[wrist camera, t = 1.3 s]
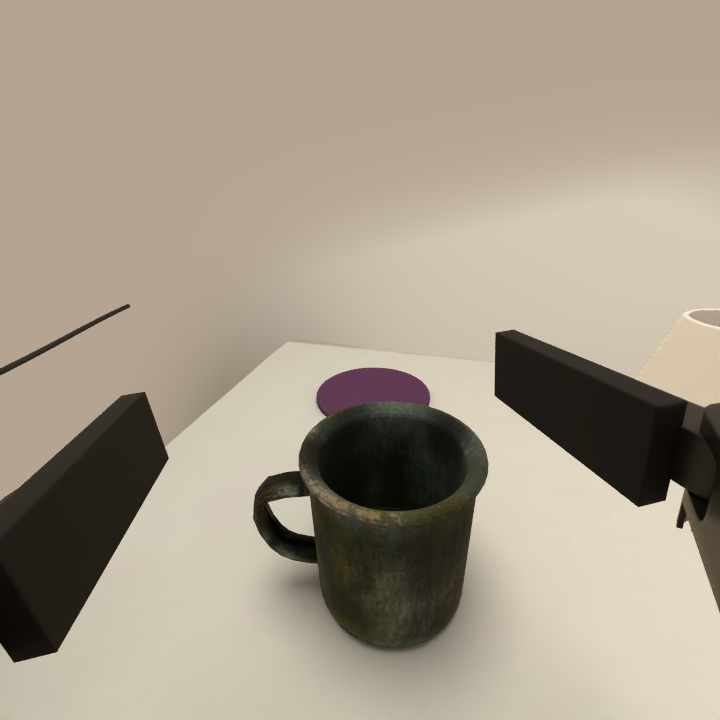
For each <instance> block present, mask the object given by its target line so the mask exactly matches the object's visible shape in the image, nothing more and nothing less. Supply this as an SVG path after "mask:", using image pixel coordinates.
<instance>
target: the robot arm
mask: <svg viewBox="0 0 720 720" xmlns="http://www.w3.org/2000/svg"><path fill="white" fill-rule="evenodd" d="M129 307H130V305H129V304H127V305H125V306H122V307H120V308H118V309H116V310H114V311H112V312H110V313H108V314H106V315H103V316H101V317H99V318H97V319H95V320H94V321H92V322H90V323H88V324H86V325H84V326H82V327H80V328H78V329H76V330H74V331H73V332H71V333H69V334H67V335H65V336H63V337H61V338H59V339H57V340H56V341H54V342H52V343H50V344H48V345H46V346H44V347H42V348H40V349H38V350H36V351H34V352H33V353H30V354H29V355H26V356H25V357H23V358H21V359H19V360H17V361H15V362H12V363H10V364H8V365H6V366H4V367H3V368H0V375H2V374H4V373H6V372H8V371H10V370H11V369H14V368H16V367H18V366H20V365H22V364H23V363H26V362H27V361H29V360H31V359H33V358H35V357H36V356H39V355H41V354H42V353H44V352H46V351H48V350H50V349H52V348H54V347H55V346H57V345H59V344H61V343H63V342H64V341H66V340H68V339H70V338H72V337H74V336H75V335H77V334H79V333H81V332H83V331H84V330H86V329H88V328H90V327H92V326H94V325H95V324H97V323H99V322H101V321H103V320H105V319H107V318H109V317H111V316H113V315H115V314H117V313H119V312H121V311H123V310H125V309H127V308H129ZM495 344H496V345H495V396H496V397H497V398H498V399H500V400H501V401H502V402H504V403H505V404H506V405H507V406H509V407H510V408H511V409H513V410H514V411H515V412H516V413H518V414H519V415H520V416H522V417H523V418H524V419H526V420H527V421H528V422H529V423H531V424H532V425H533V426H535V427H536V428H537V429H538V430H540V431H541V432H542V433H544V434H545V435H546V436H547V437H549V438H550V439H551V440H553V441H554V442H555V443H556V444H558V445H559V446H560V447H562V448H563V449H564V450H565V451H567V452H568V453H569V454H571V455H572V456H573V457H574V458H576V459H577V460H578V461H580V462H581V463H582V464H584V465H585V466H586V467H587V468H589V469H590V470H591V471H593V472H594V473H595V474H596V475H598V476H599V477H600V478H602V479H603V480H604V481H605V482H607V483H608V484H609V485H611V486H612V487H613V488H614V489H616V490H617V491H618V492H620V493H621V494H622V495H623V496H625V497H626V498H627V499H629V500H630V501H631V502H632V503H634V504H635V505H636V506H638V507H641V506H645V505H649V504H653V503H657V502H661V501H665V500H666V496H667V492H668V487H669V483H670V479H671V480H673V481H674V482H676V483H678V484H679V485H681V486H682V487H684V488H685V490H684V494H683V498H682V502H681V506H680V510H679V514H678V518H677V524H676V527H677V528H681V529H682V528H683V524H684V522H686V521H688V520H689V523H690V526H691V531H692V532H693V535H694V538H695V541H696V544H697V547H698V550H699V553H700V556H701V559H702V562H703V564H704V567H705V570H706V573H707V576H708V579H709V582H710V585H711V588H712V591H713V594H714V597H715V600H716V603H717V606H718V609H719V612H720V403H715V404H710V405H708V406H706V407H705V408H704V407H702V406H699V405H697V404H694V403H692V402H690V401H687V400H685V399H682V398H680V397H677V396H675V395H672V394H670V393H667V392H665V391H663V390H660V389H658V388H655V387H653V386H650V385H648V384H645V383H643V382H641V381H638V380H636V379H633V378H631V377H628V376H626V375H623V374H621V373H618V372H616V371H613V370H611V369H609V368H606V367H604V366H601V365H599V364H596V363H594V362H591V361H589V360H586V359H584V358H582V357H579V356H577V355H574V354H572V353H569V352H567V351H564V350H562V349H559V348H557V347H555V346H552V345H550V344H547V343H545V342H542V341H540V340H537V339H535V338H533V337H530V336H528V335H525V334H523V333H520V332H518V331H516V330H509V331H503V332H497V333H496V343H495ZM168 459H169V458H168V455H167V452H166V449H165V446H164V444H163V441H162V438H161V435H160V432H159V430H158V427H157V424H156V421H155V418H154V416H153V413H152V410H151V408H150V405H149V402H148V399H147V396H146V394H145V392H141V393H135V394H129V395H124V396H121V397H120V398H119V399H117V400H116V401H115V402H114V403H113V404H112V405H111V406H110V407H108V408H107V409H106V410H105V411H104V412H103V413H102V414H101V415H100V416H98V418H96V419H95V420H94V421H93V422H92V423H91V424H90V425H89V426H88V427H86V428H85V429H84V430H83V431H82V432H81V433H80V434H78V436H76V437H75V438H74V439H73V440H72V441H71V442H70V443H68V444H67V445H66V446H65V447H64V448H63V449H62V450H61V451H60V452H58V453H57V454H56V455H55V456H54V457H53V458H52V459H51V460H50V461H48V462H47V463H46V464H45V465H44V466H43V467H42V468H41V469H39V470H38V471H37V472H36V473H35V474H34V475H33V476H32V477H31V478H30V479H28V480H27V481H26V482H25V483H24V484H23V485H22V486H21V487H19V488H18V489H17V490H15V491H14V492H12V493H10V494H9V495H7V496H6V497H4V498H3V499H2V500H1V501H0V643H1V645H2V646H3V647H4V649H5V650H6V652H7V653H8V655H9V656H10V657H11V659H12V660H13V662H14V663H15V662H19V661H23V660H27V659H31V658H35V657H39V656H43V655H47V654H51V653H55V652H57V651H58V649H59V647H60V646H61V644H62V642H63V641H64V639H65V637H66V635H67V634H68V632H69V630H70V628H71V627H72V625H73V623H74V621H75V620H76V618H77V616H78V615H79V613H80V611H81V609H82V608H83V606H84V604H85V602H86V601H87V599H88V597H89V596H90V594H91V592H92V590H93V589H94V587H95V585H96V583H97V582H98V580H99V578H100V576H101V575H102V573H103V571H104V570H105V568H106V566H107V564H108V563H109V561H110V559H111V557H112V556H113V554H114V552H115V550H116V549H117V547H118V545H119V544H120V542H121V540H122V538H123V537H124V535H125V533H126V531H127V530H128V528H129V526H130V525H131V523H132V521H133V519H134V518H135V516H136V514H137V512H138V511H139V509H140V507H141V505H142V504H143V502H144V500H145V499H146V497H147V495H148V493H149V492H150V490H151V488H152V486H153V485H154V483H155V481H156V479H157V478H158V476H159V474H160V473H161V471H162V469H163V467H164V466H165V464H166V462H167V460H168Z"/></svg>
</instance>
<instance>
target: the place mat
mask: <svg viewBox="0 0 720 720" xmlns="http://www.w3.org/2000/svg"><path fill="white" fill-rule="evenodd" d="M429 400H430V394H429V391H428V389H427V387H426V385H425V384H424V383H423V382H422V381H420V380H419V379H418V378H416V377H414V376H412V375H410V374H408V373H405V372H402V371H398V370H393V369H387V368H361V369H354V370H349V371H346V372H343V373H340V374H337V375H335V376H333V377H331V378H329V379H328V380H326V381H325V382H324V383H323V384H322V385H321V386H320V388H319V390H318V392H317V404H318V407H319V409H320V410H321V411H322V412H323V413H324V414H325V415H326V416H327V417H328V416H330V415H332V414H334V413H336V412H338V411H340V410H343V409H345V408H348V407H352V406H355V405H359V404H364V403H370V402H380V401H398V402H409V403H416V404H420V405H424V406H428V405H429Z"/></svg>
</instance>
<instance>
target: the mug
mask: <svg viewBox="0 0 720 720" xmlns="http://www.w3.org/2000/svg"><path fill="white" fill-rule="evenodd" d="M299 469H300V471H293V472H285V473H281V474H277V475H273V476H269V477H267V479H266V480H265V481H264V482H263V483H262V484H261V485H260V487H259V488H258V490H257V492H256V494H255V500H254V514H253V519H254V522H255V524H256V526H257V529H258V531H259V533H260V535H261V536H262V538H263V539H264V540H265V541H266V543H267V544H268V545H269V547H270V548H272V549H273V550H274V551H276V552H277V553H278V554H280V555H281V556H283V557H286V558H289V559H292V560H295V561H301V562H307V563H316V564H318V568H319V577H320V585H321V590H322V594H323V597H324V600H325V602H326V605H327V607H328V608H329V610H330V612H331V613H332V615H333V616H334V618H335V619H336V620H337V621H338V622H339V623H340V624H341V626H343V627H344V628H345V629H346V630H348V631H349V632H350V633H351V634H353V635H355V636H357V637H358V638H360V639H362V640H364V641H367V642H370V643H373V644H376V645H382V646H387V647H402V646H408V645H414V644H417V643H419V642H422V641H425V640H427V639H429V638H430V637H432V636H434V635H435V634H437V633H438V632H439V631H440V630H442V629H443V628H444V627H445V626H446V625H447V624H448V622H449V621H450V620H451V618H452V617H453V615H454V613H455V611H456V609H457V607H458V605H459V602H460V598H461V594H462V587H463V581H464V574H465V567H466V560H467V553H468V547H469V540H470V533H471V526H472V519H473V513H474V506H475V499H476V496H477V495H478V494H479V492H480V490H481V489H482V487H483V486H484V484H485V481H486V478H487V475H488V459H487V454H486V451H485V448H484V446H483V444H482V442H481V441H480V439H479V438H478V436H477V435H476V434H475V433H474V432H473V431H472V430H471V429H470V428H469V427H468V426H467V425H465V424H464V423H463V422H461V421H460V420H458V419H457V418H455V417H453V416H451V415H450V414H447V413H445V412H443V411H440V410H438V409H435V408H431V407H428V406H424V405H420V404H416V403H409V402H398V401H380V402H370V403H364V404H359V405H355V406H352V407H348V408H345V409H343V410H340V411H338V412H336V413H334V414H332V415H330V416H328V417H326V418H325V419H323V420H322V421H320V422H319V423H318V424H317V425H316V426H315V427H313V428H312V430H311V431H310V432H309V433H308V435H307V436H306V438H305V439H304V441H303V443H302V446H301V450H300V453H299ZM303 496H310V500H311V508H312V517H313V525H314V534H315V537H313V536H307V535H302V534H297V533H295V532H292V531H290V530H288V529H287V528H286V527H284V526H283V525H282V524H281V523H280V522H279V520H278V519H277V518H276V517H275V515H274V514H273V512H272V510H271V508H270V506H269V504H268V502H270V501H275V500H279V499H283V498H290V497H303Z"/></svg>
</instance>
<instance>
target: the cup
mask: <svg viewBox="0 0 720 720" xmlns="http://www.w3.org/2000/svg"><path fill="white" fill-rule="evenodd" d="M635 379H636V380H638V381H641V382H643V383H645V384H648V385H650V386H653V387H655V388H658V389H660V390H663V391H665V392H667V393H670V394H672V395H675V396H677V397H680V398H682V399H685V400H687V401H690V402H692V403H694V404H697V405H699V406H702V407H704V408H705V407H706V406H708V405H710V404H715V403H720V309H696V310H689V311H686V312H685V313H684V314H683V315H682V316H681V317H680V319H679V320H678V322H677V323H676V324H675V326H674V327H673V328H672V330H671V331H670V332H669V334H668V335H667V336H666V338H665V339H664V341H663V342H662V343H661V344H660V346H659V347H658V348H657V350H656V351H655V352H654V354H653V355H652V357H651V358H650V359H649V361H648V362H647V363H646V365H645V366H644V367H643V369H642V370H641V371H640V373H639V374H638V375H637V377H636V378H635Z"/></svg>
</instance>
